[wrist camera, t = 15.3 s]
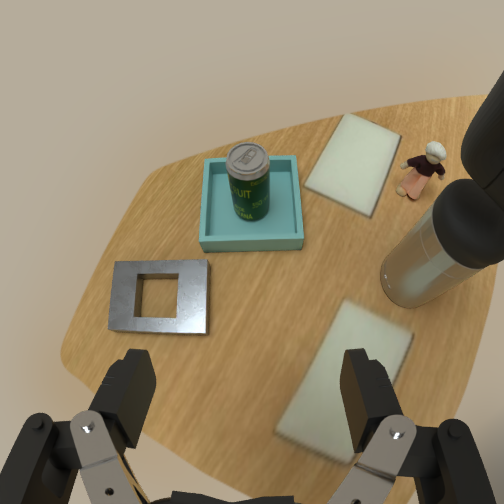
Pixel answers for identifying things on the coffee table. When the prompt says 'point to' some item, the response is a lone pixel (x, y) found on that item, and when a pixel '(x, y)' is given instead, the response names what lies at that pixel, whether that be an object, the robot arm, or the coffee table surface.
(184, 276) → the gray rectangular block
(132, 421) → the robot arm
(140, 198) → the coffee table surface
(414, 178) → the grandmother figurine
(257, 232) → the tray
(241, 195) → the beer can
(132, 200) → the coffee table surface
